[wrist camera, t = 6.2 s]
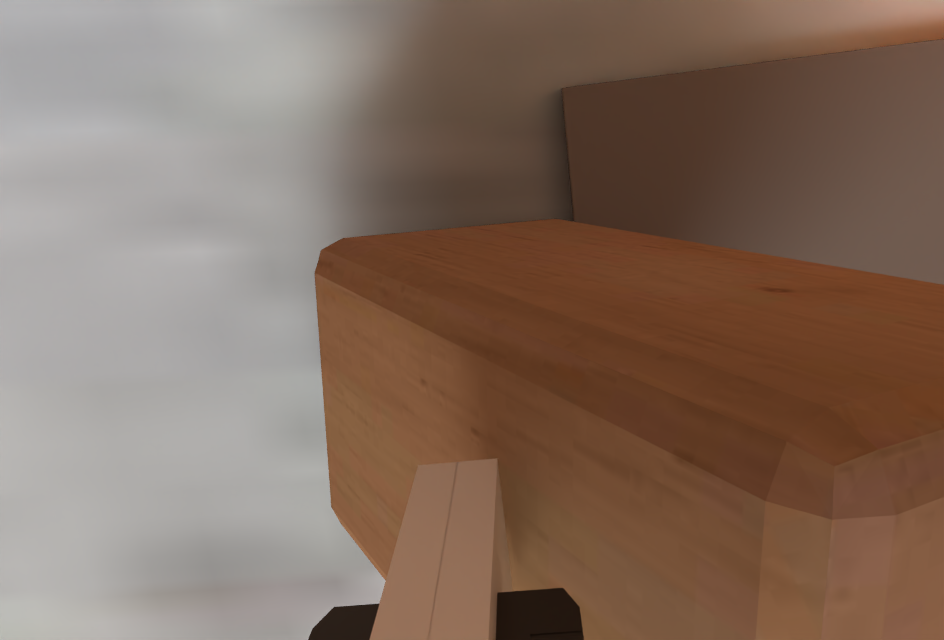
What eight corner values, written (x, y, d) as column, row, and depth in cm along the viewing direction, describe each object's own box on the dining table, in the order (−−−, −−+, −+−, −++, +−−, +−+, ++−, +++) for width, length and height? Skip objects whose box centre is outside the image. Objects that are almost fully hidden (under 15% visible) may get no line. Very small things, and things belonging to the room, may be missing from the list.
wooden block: (562, 214, 30) (1258, 324, 13) (561, 460, 33) (1148, 827, 16) (303, 237, 26) (844, 453, 9) (324, 521, 28) (780, 1132, 11)
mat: (561, 88, 29) (562, 87, 28) (1142, 14, 28) (1160, 11, 27) (598, 491, 33) (600, 501, 32) (1111, 445, 31) (1127, 453, 31)
